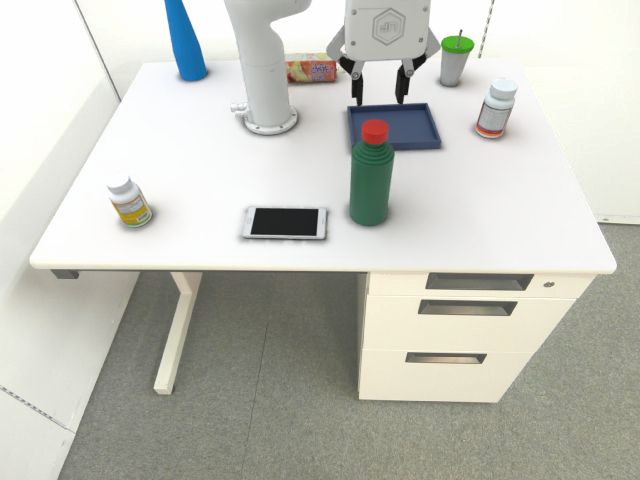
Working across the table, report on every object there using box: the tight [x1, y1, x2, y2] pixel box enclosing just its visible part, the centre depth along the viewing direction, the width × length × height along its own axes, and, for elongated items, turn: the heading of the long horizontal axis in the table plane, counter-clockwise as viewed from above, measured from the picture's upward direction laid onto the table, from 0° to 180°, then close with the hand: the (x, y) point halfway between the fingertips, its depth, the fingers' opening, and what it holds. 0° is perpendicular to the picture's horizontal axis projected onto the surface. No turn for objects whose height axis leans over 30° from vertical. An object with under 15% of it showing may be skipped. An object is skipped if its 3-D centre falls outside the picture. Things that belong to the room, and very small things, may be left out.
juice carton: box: [285, 52, 337, 83], centre depth 106 cm, size 21×7×7 cm, turn 91°
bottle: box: [163, 0, 208, 82], centre depth 101 cm, size 7×7×30 cm
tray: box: [346, 102, 442, 151], centre depth 92 cm, size 19×15×2 cm
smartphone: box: [241, 206, 327, 240], centre depth 74 cm, size 8×1×15 cm
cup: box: [439, 29, 476, 88], centre depth 100 cm, size 8×8×15 cm
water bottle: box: [348, 140, 396, 227], centre depth 69 cm, size 7×7×18 cm
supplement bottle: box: [105, 171, 153, 228], centre depth 73 cm, size 5×5×10 cm
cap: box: [362, 119, 389, 144], centre depth 62 cm, size 4×4×2 cm
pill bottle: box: [475, 78, 519, 139], centre depth 87 cm, size 6×6×11 cm
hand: (378, 99), depth 58 cm, fingers open, 5 cm apart
